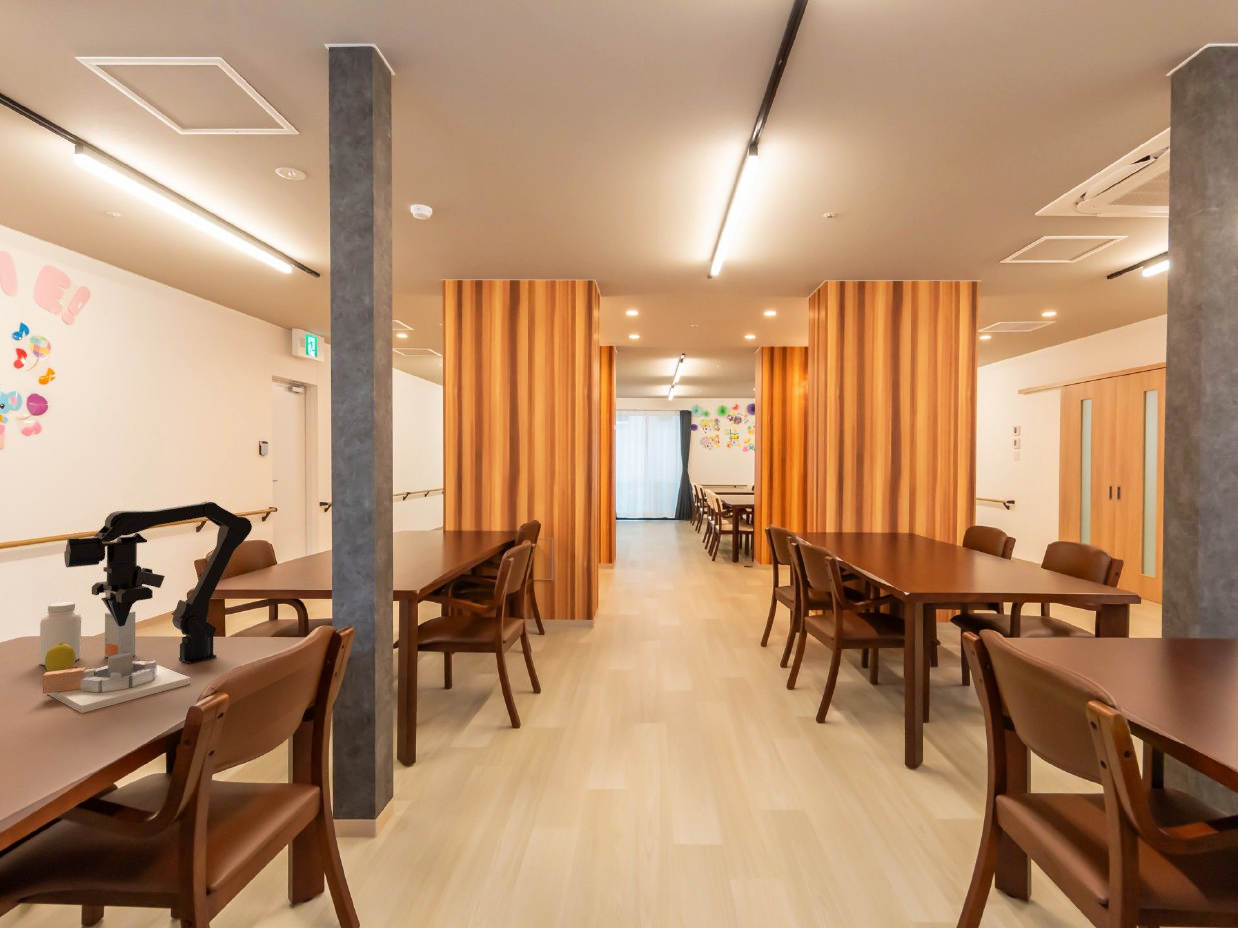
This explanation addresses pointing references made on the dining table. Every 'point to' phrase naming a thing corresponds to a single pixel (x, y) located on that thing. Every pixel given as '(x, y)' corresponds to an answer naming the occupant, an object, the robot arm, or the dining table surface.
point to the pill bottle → (60, 629)
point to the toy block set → (98, 678)
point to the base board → (124, 663)
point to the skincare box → (119, 635)
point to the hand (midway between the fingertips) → (121, 625)
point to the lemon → (60, 657)
